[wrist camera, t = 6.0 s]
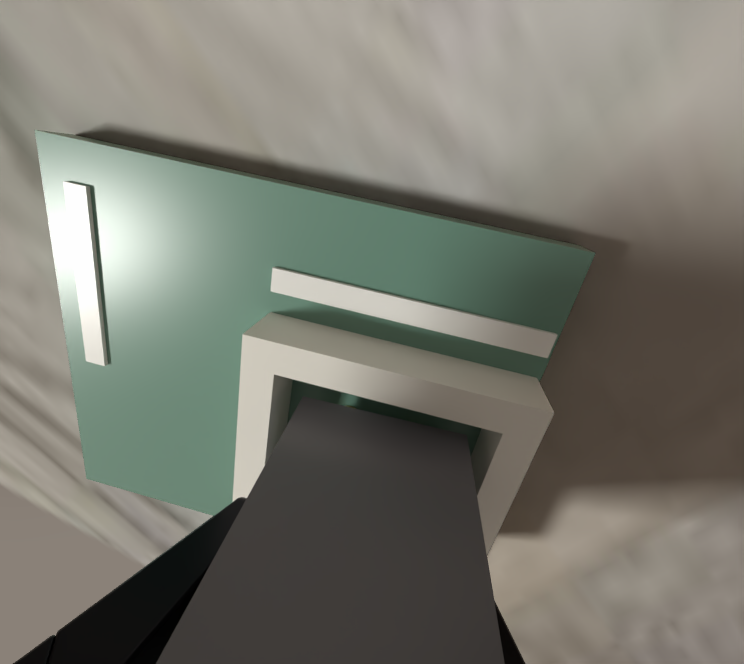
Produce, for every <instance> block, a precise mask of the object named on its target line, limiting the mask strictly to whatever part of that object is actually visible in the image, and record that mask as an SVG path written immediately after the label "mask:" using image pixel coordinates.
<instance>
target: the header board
mask: <svg viewBox="0 0 744 664" xmlns="http://www.w3.org/2000/svg"><path fill="white" fill-rule="evenodd" d="M35 136H36V142H37V149H38V156H39V162H40V169H41V176H42V183H43V189H44V196H45V203H46V210H47V216H48V223H49V230H50V236H51V243H52V250H53V257H54V263H55V270H56V277H57V283H58V290H59V297H60V304H61V310H62V317H63V324H64V331H65V337H66V344H67V351H68V357H69V364H70V371H71V378H72V384H73V391H74V398H75V404H76V411H77V418H78V425H79V431H80V438H81V445H82V451H83V458H84V465H85V472H86V478H87V479H90V480H93V481H96V482H100V483H103V484H107V485H110V486H114V487H117V488H120V489H124V490H127V491H131V492H134V493H138V494H141V495H144V496H148V497H151V498H155V499H158V500H161V501H165V502H168V503H172V504H175V505H179V506H182V507H185V508H189V509H192V510H196V511H199V512H203V513H206V514H209V515H213V516H214V515H216V514H217V513H218V512H220V511H221V510H222V509H224V508H225V507H226V506H228V505H229V504H231V503H232V502H233V501H235V500H236V499H237V498H240V497H245V498H247V497H248V495H249V493H250V492H251V490H252V488H253V486H254V484H255V482H256V481H257V479H258V477H259V475H260V473H261V472H262V470H263V468H264V466H265V464H266V462H267V461H268V459H269V457H270V455H271V453H272V452H273V450H274V448H275V446H276V444H277V442H278V441H279V439H280V437H281V435H282V433H283V432H284V430H285V428H286V426H287V424H288V422H289V421H290V419H291V417H292V415H293V413H294V412H295V410H296V408H297V406H298V404H299V402H300V401H301V399H302V397H303V396H305V397H309V398H313V399H317V400H321V401H326V402H330V403H334V404H338V405H342V406H347V407H351V408H355V409H359V410H363V411H368V412H372V413H376V414H380V415H384V416H389V417H393V418H397V419H401V420H405V421H410V422H414V423H418V424H422V425H426V426H431V427H435V428H439V429H443V430H447V431H451V432H456V433H460V434H464V435H467V438H468V444H469V450H470V457H471V463H472V469H473V475H474V481H475V487H476V493H477V499H478V505H479V511H480V517H481V523H482V529H483V535H484V541H485V548H486V554H487V555H488V553H489V551H490V549H491V547H492V545H493V543H494V541H495V538H496V536H497V534H498V532H499V530H500V528H501V526H502V524H503V521H504V519H505V517H506V515H507V513H508V511H509V509H510V507H511V504H512V502H513V500H514V498H515V496H516V494H517V492H518V489H519V487H520V485H521V483H522V481H523V479H524V477H525V475H526V472H527V470H528V468H529V466H530V464H531V462H532V460H533V458H534V455H535V453H536V451H537V449H538V447H539V445H540V443H541V441H542V438H543V436H544V434H545V432H546V430H547V428H548V426H549V423H550V421H551V419H552V417H553V415H554V411H553V409H552V407H551V405H550V403H549V401H548V399H547V397H546V395H545V393H544V391H543V389H542V387H541V385H540V380H541V378H542V376H543V373H544V371H545V369H546V367H547V364H548V362H549V360H550V357H551V355H552V353H553V350H554V348H555V346H556V343H557V341H558V339H559V337H560V334H561V332H562V330H563V327H564V325H565V323H566V320H567V318H568V316H569V313H570V311H571V309H572V307H573V304H574V302H575V300H576V297H577V295H578V293H579V290H580V288H581V286H582V283H583V281H584V279H585V277H586V274H587V272H588V270H589V267H590V265H591V263H592V260H593V258H594V256H595V252H592V251H590V250H588V249H586V248H584V247H582V246H580V245H576V244H571V243H566V242H562V241H557V240H553V239H548V238H544V237H539V236H534V235H530V234H525V233H521V232H516V231H511V230H507V229H502V228H498V227H493V226H489V225H484V224H479V223H475V222H470V221H466V220H461V219H457V218H452V217H447V216H443V215H438V214H434V213H429V212H425V211H420V210H415V209H411V208H406V207H402V206H397V205H392V204H388V203H383V202H379V201H374V200H370V199H365V198H360V197H356V196H351V195H347V194H342V193H338V192H333V191H328V190H324V189H319V188H315V187H310V186H306V185H301V184H296V183H292V182H287V181H283V180H278V179H273V178H269V177H264V176H260V175H255V174H251V173H246V172H241V171H237V170H232V169H228V168H223V167H219V166H214V165H209V164H205V163H200V162H196V161H191V160H187V159H182V158H177V157H173V156H168V155H164V154H159V153H154V152H150V151H145V150H141V149H136V148H132V147H127V146H122V145H118V144H113V143H109V142H104V141H100V140H95V139H90V138H86V137H81V136H77V135H72V134H64V133H55V132H47V131H39V130H35Z"/></svg>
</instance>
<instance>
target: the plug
mask: <svg viewBox="0 0 744 664" xmlns="http://www.w3.org/2000/svg"><path fill="white" fill-rule="evenodd" d="M156 664H505V663H504V657H503V651H502V645H501V639H500V632H499V626H498V620H497V614H496V608H495V602H494V596H493V590H492V584H491V578H490V572H489V566H488V560H487V554H486V548H485V541H484V535H483V529H482V523H481V517H480V511H479V505H478V499H477V493H476V487H475V481H474V475H473V469H472V463H471V457H470V450H469V444H468V438H467V435H464V434H460V433H456V432H451V431H447V430H443V429H439V428H435V427H431V426H426V425H422V424H418V423H414V422H410V421H405V420H401V419H397V418H393V417H389V416H384V415H380V414H376V413H372V412H368V411H363V410H359V409H355V408H351V407H347V406H342V405H338V404H334V403H330V402H326V401H321V400H317V399H313V398H309V397H305V396H303V397H302V399H301V401H300V402H299V404H298V406H297V408H296V410H295V412H294V413H293V415H292V417H291V419H290V421H289V422H288V424H287V426H286V428H285V430H284V432H283V433H282V435H281V437H280V439H279V441H278V442H277V444H276V446H275V448H274V450H273V452H272V453H271V455H270V457H269V459H268V461H267V462H266V464H265V466H264V468H263V470H262V472H261V473H260V475H259V477H258V479H257V481H256V482H255V484H254V486H253V488H252V490H251V492H250V493H249V495H248V497H247V499H246V501H245V502H244V504H243V506H242V508H241V510H240V512H239V513H238V515H237V517H236V519H235V521H234V522H233V524H232V526H231V528H230V530H229V532H228V533H227V535H226V537H225V539H224V541H223V543H222V544H221V546H220V548H219V550H218V552H217V553H216V555H215V557H214V559H213V561H212V563H211V564H210V566H209V568H208V570H207V572H206V573H205V575H204V577H203V579H202V581H201V583H200V584H199V586H198V588H197V590H196V592H195V593H194V595H193V597H192V599H191V601H190V603H189V604H188V606H187V608H186V610H185V612H184V613H183V615H182V617H181V619H180V621H179V623H178V624H177V626H176V628H175V630H174V632H173V633H172V635H171V637H170V639H169V641H168V643H167V644H166V646H165V648H164V650H163V652H162V653H161V655H160V657H159V659H158V661H157V663H156Z"/></svg>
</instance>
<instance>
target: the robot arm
mask: <svg viewBox="0 0 744 664" xmlns="http://www.w3.org/2000/svg"><path fill="white" fill-rule="evenodd" d="M246 499H247V498H245V497H240V498H237V499H236V500H235V501H233V502H232V503H231V504H229V505H228V506H226V507H225V508H224V509H222V510H221V511H220V512H218V513H217V514H216V515H214V516H213V517H212V518H210V519H209V520H208V521H206V522H205V523H203V524H202V525H201V526H199V527H198V528H197V529H195V530H194V531H193V532H191V533H190V534H189V535H187V536H186V537H185V538H183V539H182V540H180V541H179V542H178V543H176V544H175V545H174V546H172V547H171V548H170V549H168V550H167V551H166V552H164V553H163V554H162V555H160V556H159V557H157V558H156V559H155V560H153V561H152V562H151V563H149V564H148V565H147V566H145V567H144V568H143V569H141V570H140V571H139V572H137V573H136V574H134V575H133V576H132V577H130V578H129V579H128V580H126V581H125V582H124V583H122V584H121V585H120V586H118V587H117V588H116V589H114V590H113V591H112V592H110V593H109V594H108V595H106V596H105V597H103V598H102V599H101V600H99V601H98V602H97V603H95V604H94V605H93V606H91V607H90V608H88V609H87V610H86V611H84V612H83V613H82V614H80V615H79V616H78V617H76V618H75V619H74V620H72V621H71V622H70V623H68V624H67V625H65V626H64V627H63V628H61V629H60V630H59V631H58V632H57V634H56V636H55V635H52V636H50V637H49V638H47V639H46V640H45V641H44V642H42V643H41V644H39V645H38V646H37V647H35V648H34V649H33V650H31V651H30V652H29V653H27V654H26V655H25V656H23V657H22V658H20V659H19V660H18V661H16V662H15V663H13V664H156V663H157V661H158V659H159V657H160V655H161V653H162V652H163V650H164V648H165V646H166V644H167V643H168V641H169V639H170V637H171V635H172V633H173V632H174V630H175V628H176V626H177V624H178V623H179V621H180V619H181V617H182V615H183V613H184V612H185V610H186V608H187V606H188V604H189V603H190V601H191V599H192V597H193V595H194V593H195V592H196V590H197V588H198V586H199V584H200V583H201V581H202V579H203V577H204V575H205V573H206V572H207V570H208V568H209V566H210V564H211V563H212V561H213V559H214V557H215V555H216V553H217V552H218V550H219V548H220V546H221V544H222V543H223V541H224V539H225V537H226V535H227V533H228V532H229V530H230V528H231V526H232V524H233V522H234V521H235V519H236V517H237V515H238V513H239V512H240V510H241V508H242V506H243V504H244V502H245V501H246ZM494 602H495V601H494ZM495 608H496V614H497V620H498V626H499V632H500V639H501V645H502V651H503V657H504V663H505V664H525V662H524V660H523V658H522V656H521V654H520V652H519V650H518V648H517V646H516V643H515V641H514V639H513V637H512V635H511V633H510V631H509V629H508V627H507V625H506V623H505V621H504V619H503V617H502V615H501V613H500V611H499V609H498V607H497V605H496V603H495Z"/></svg>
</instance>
